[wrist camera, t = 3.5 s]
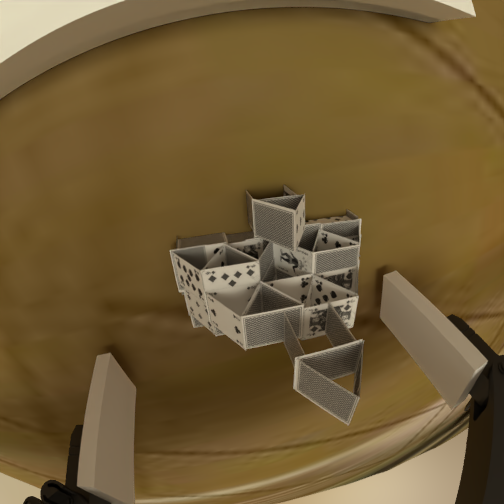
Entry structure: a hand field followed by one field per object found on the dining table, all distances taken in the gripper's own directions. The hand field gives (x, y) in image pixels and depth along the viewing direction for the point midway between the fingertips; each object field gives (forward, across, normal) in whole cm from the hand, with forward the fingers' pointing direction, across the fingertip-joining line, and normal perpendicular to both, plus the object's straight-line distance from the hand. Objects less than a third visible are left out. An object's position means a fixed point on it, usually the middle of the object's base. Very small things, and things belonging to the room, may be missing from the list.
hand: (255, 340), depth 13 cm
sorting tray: (+1, +1, +23) cm, 23 cm away
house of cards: (+1, +2, +6) cm, 6 cm away
